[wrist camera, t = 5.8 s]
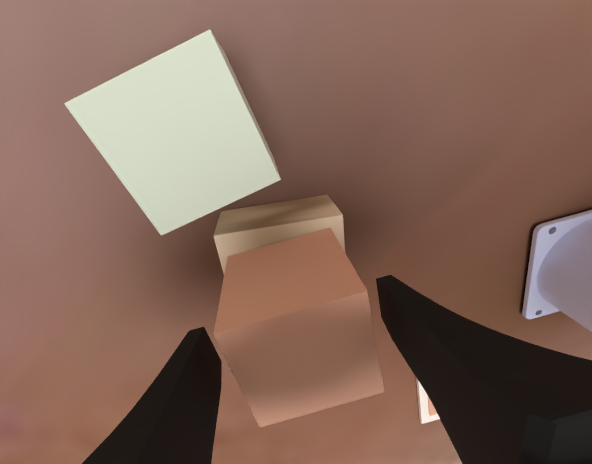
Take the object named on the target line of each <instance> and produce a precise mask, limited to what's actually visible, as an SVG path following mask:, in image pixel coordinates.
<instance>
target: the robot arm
mask: <svg viewBox="0 0 592 464" xmlns="http://www.w3.org/2000/svg"><path fill="white" fill-rule="evenodd" d="M376 282H377V289H378V296H379V303H380V310H381V317H382V319H383V321H384V323H385V325H386V328H387V330H388V332H389V334H390V336H391V338H392V340H393V341H394V343H395V344H396V346H397V348H398V349H399V351H400V352H401V354H402V356H403V357H404V359H405V360H406V362H407V363H408V365H409V367H410V368H411V370H412V371H413V373H414V374H415V376H416V377H417V379H418V381H419V382H420V384H421V385H422V387H423V388H424V390H425V392H426V394H427V395H428V397H429V399H430V400H431V402H432V404H433V406H434V408H435V410H436V412H437V414H438V416H439V418H440V420H441V422H442V423H443V425H444V427H445V429H446V431H447V433H448V435H449V437H450V439H451V441H452V443H453V445H454V447H455V449H456V451H457V453H458V455H459V457H460V459H461V461H462V463H463V464H592V360H588V359H583V358H579V357H575V356H571V355H567V354H564V353H561V352H557V351H554V350H550V349H547V348H543V347H540V346H537V345H534V344H531V343H528V342H525V341H522V340H519V339H516V338H513V337H511V336H508V335H505V334H502V333H500V332H497V331H495V330H492V329H489V328H487V327H485V326H482V325H480V324H478V323H476V322H473V321H471V320H469V319H466V318H464V317H462V316H460V315H458V314H456V313H454V312H452V311H450V310H448V309H446V308H444V307H443V306H441V305H439V304H437V303H436V302H434V301H432V300H430V299H429V298H427V297H425V296H423V295H422V294H420V293H419V292H417V291H415V290H414V289H412V288H411V287H409V286H407V285H406V284H404V283H403V282H401V281H400V280H398V279H396V278H395V277H393V276H392V275H388V276H385V277H381V278H377V279H376ZM558 311H561V312H563V313H564V314H566V315H567V316H569V317H570V318H571V319H573V320H574V321H576V322H577V323H579V324H580V325H582V326H583V327H585V328H586V329H587V330H589V331H590V332H592V210H589V211H585V212H582V213H578V214H574V215H571V216H567V217H564V218H560V219H556V220H553V221H549V222H546V223H542V224H540V225H538V226H536V227H535V229H534V231H533V237H532V244H531V252H530V259H529V267H528V274H527V281H526V289H525V296H524V303H523V311H522V315H523V316H524V317H525V318H526V319H533V318H537V317H540V316H544V315H548V314H551V313H555V312H558ZM220 392H221V360H220V358H219V356H218V354H217V352H216V350H215V348H214V346H213V344H212V342H211V340H210V338H209V336H208V334H207V332H206V330H205V328H204V327H201V328H197V329H194V330H190V331H189V332H188V333H187V335H186V336H185V337H184V339H183V340H182V342H181V343H180V345H179V346H178V347H177V349H176V350H175V352H174V353H173V355H172V356H171V358H170V359H169V360H168V362H167V363H166V365H165V366H164V368H163V369H162V370H161V372H160V373H159V375H158V376H157V377H156V379H155V380H154V381H153V383H152V384H151V385H150V387H149V388H148V389H147V391H146V392H145V393H144V394H143V396H142V397H141V398H140V400H139V401H138V402H137V404H136V405H135V406H134V407H133V409H132V410H131V411H130V412H129V413H128V414H127V416H126V417H125V418H124V419H123V420H122V421H121V423H120V424H119V425H118V426H117V427H116V428H115V429H114V431H113V432H112V433H111V434H110V435H109V436H108V437H107V438H106V439H105V440H104V441H103V442H102V443H101V444H100V445H99V446H98V448H97V449H96V450H95V451H94V452H93V453H92V454H91V455H90V456H89V457H88V458H87V459H86V460H85V461H84V462H83V463H82V464H211V460H212V451H213V443H214V436H215V429H216V422H217V415H218V407H219V400H220Z"/></svg>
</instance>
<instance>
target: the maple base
mask: <svg viewBox="0 0 592 464" xmlns="http://www.w3.org/2000/svg"><path fill="white" fill-rule="evenodd" d="M328 228H331V229H332V231H333V233H334V235H335V236H336V238H337V240H338V241H339V243H340V245H341V247H342V248H343V250H344V252H345V243H344V225H343V214H342V213H341V212H340V210H339V209H338V208H337V206H336V205H335V204H334V203H333V201H332V200H331V199H330V197H329V196H328V195H322V196H315V197H309V198H302V199H296V200H290V201H283V202H277V203H271V204H264V205H258V206H251V207H245V208H239V209H232V210H226V211H221V213H220V216H219V219H218V223H217V226H216V229H215V232H214V240H215V244H216V247H217V251H218V255H219V258H220V262H221V266H222V270H223V273H224V274H225V268H226V263H227V257H228V256H231V255H234V254H238V253H241V252H245V251H249V250H252V249H256V248H259V247H263V246H267V245H270V244H274V243H277V242H281V241H285V240H288V239H292V238H295V237H299V236H303V235H306V234H310V233H313V232H317V231H321V230H324V229H328Z"/></svg>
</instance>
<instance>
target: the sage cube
mask: <svg viewBox="0 0 592 464" xmlns="http://www.w3.org/2000/svg"><path fill="white" fill-rule="evenodd" d="M64 104H65V105H66V107H67V108H68V109H69V111H70V112H71V113H72V115H73V116H74V118H75V119H76V120H77V122H78V123H79V124H80V126H81V127H82V128H83V130H84V131H85V133H86V134H87V135H88V137H89V138H90V139H91V141H92V142H93V143H94V145H95V146H96V147H97V149H98V150H99V152H100V153H101V154H102V156H103V157H104V158H105V160H106V161H107V162H108V164H109V165H110V167H111V168H112V169H113V171H114V172H115V173H116V175H117V176H118V177H119V179H120V180H121V182H122V183H123V184H124V186H125V187H126V188H127V190H128V191H129V192H130V194H131V195H132V196H133V198H134V199H135V201H136V202H137V203H138V205H139V206H140V207H141V209H142V210H143V211H144V213H145V214H146V216H147V217H148V218H149V220H150V221H151V222H152V224H153V225H154V226H155V228H156V229H157V231H158V232H159V233H160V235H161V236H162V235H164V234H166V233H168V232H170V231H172V230H174V229H177V228H179V227H181V226H183V225H185V224H187V223H189V222H192V221H194V220H196V219H198V218H200V217H202V216H204V215H207V214H209V213H211V212H213V211H215V210H217V209H219V208H222V207H224V206H226V205H228V204H230V203H232V202H234V201H236V200H239V199H241V198H243V197H245V196H247V195H249V194H251V193H254V192H256V191H258V190H260V189H262V188H264V187H266V186H269V185H271V184H273V183H275V182H277V181H279V180H281V179H280V176H279V173H278V170H277V167H276V164H275V160H274V157H273V155H272V153H271V151H270V149H269V146H268V144H267V142H266V140H265V138H264V136H263V133H262V131H261V129H260V127H259V125H258V123H257V121H256V118H255V116H254V114H253V112H252V110H251V108H250V106H249V103H248V101H247V99H246V97H245V95H244V93H243V90H242V88H241V86H240V84H239V82H238V80H237V78H236V75H235V73H234V71H233V69H232V67H231V65H230V63H229V60H228V58H227V56H226V54H225V52H224V51H223V49H222V48H221V46H220V44H219V43H218V41H217V40H216V38H215V36H214V35H213V33H212V32H211V30H208V31H206V32H204V33H202V34H200V35H198V36H196V37H194V38H192V39H190V40H188V41H186V42H184V43H182V44H180V45H178V46H176V47H174V48H172V49H170V50H168V51H166V52H164V53H162V54H160V55H158V56H156V57H154V58H152V59H151V60H149V61H147V62H145V63H143V64H141V65H139V66H137V67H135V68H133V69H131V70H129V71H127V72H125V73H123V74H121V75H119V76H117V77H115V78H113V79H111V80H109V81H107V82H105V83H103V84H101V85H99V86H97V87H95V88H93V89H92V90H90V91H88V92H86V93H84V94H82V95H80V96H78V97H76V98H74V99H72V100H70V101H68V102H66V103H64Z"/></svg>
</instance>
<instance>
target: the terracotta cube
mask: <svg viewBox="0 0 592 464" xmlns="http://www.w3.org/2000/svg"><path fill="white" fill-rule="evenodd" d="M214 336H215V338H216V340H217V342H218V344H219V346H220V348H221V350H222V352H223V354H224V356H225V358H226V360H227V362H228V364H229V366H230V368H231V370H232V372H233V374H234V376H235V378H236V380H237V382H238V384H239V386H240V388H241V390H242V392H243V394H244V396H245V398H246V400H247V402H248V404H249V406H250V408H251V410H252V413H253V415H254V417H255V419H256V421H257V423H258V425H259V427H264V426H267V425H271V424H274V423H278V422H281V421H285V420H288V419H292V418H295V417H299V416H302V415H306V414H309V413H313V412H316V411H320V410H323V409H327V408H330V407H334V406H337V405H341V404H344V403H348V402H351V401H355V400H358V399H362V398H366V397H369V396H373V395H376V394H380V393H383V392H384V387H383V381H382V375H381V369H380V363H379V357H378V351H377V346H376V340H375V334H374V328H373V322H372V316H371V310H370V304H369V298H368V292H367V290H366V288H365V286H364V284H363V283H362V281H361V279H360V278H359V276H358V274H357V272H356V271H355V269H354V267H353V266H352V264H351V262H350V260H349V259H348V257H347V255H346V253H345V252H344V250H343V248H342V247H341V245H340V243H339V241H338V240H337V238H336V236H335V235H334V233H333V231H332V229H331V228H328V229H324V230H321V231H317V232H313V233H310V234H306V235H303V236H299V237H295V238H292V239H288V240H285V241H281V242H277V243H274V244H270V245H267V246H263V247H259V248H256V249H252V250H249V251H245V252H241V253H238V254H234V255H231V256H228V257H227V263H226V268H225V274H224V279H223V285H222V290H221V296H220V301H219V307H218V312H217V318H216V323H215V329H214Z"/></svg>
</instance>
